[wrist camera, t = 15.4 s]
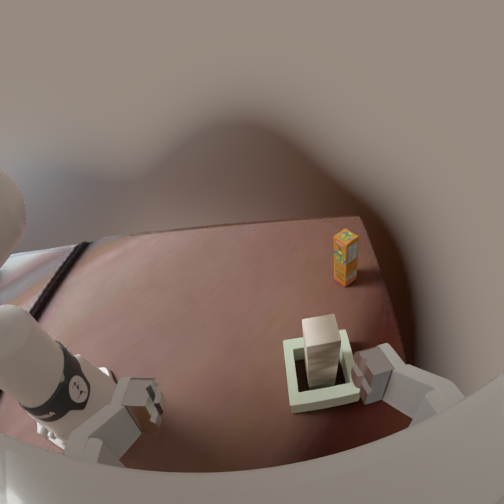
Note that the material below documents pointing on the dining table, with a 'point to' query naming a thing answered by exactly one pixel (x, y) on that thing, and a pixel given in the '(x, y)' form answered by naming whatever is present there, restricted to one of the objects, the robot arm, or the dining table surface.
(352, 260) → the supplement box
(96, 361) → the dining table surface
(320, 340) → the peg
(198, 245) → the dining table surface
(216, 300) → the dining table surface
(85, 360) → the robot arm
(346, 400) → the block
